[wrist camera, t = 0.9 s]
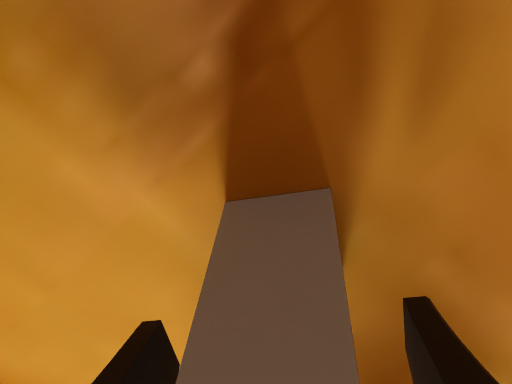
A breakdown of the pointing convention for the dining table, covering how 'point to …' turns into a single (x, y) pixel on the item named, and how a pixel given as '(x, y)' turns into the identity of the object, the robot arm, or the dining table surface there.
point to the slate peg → (273, 298)
